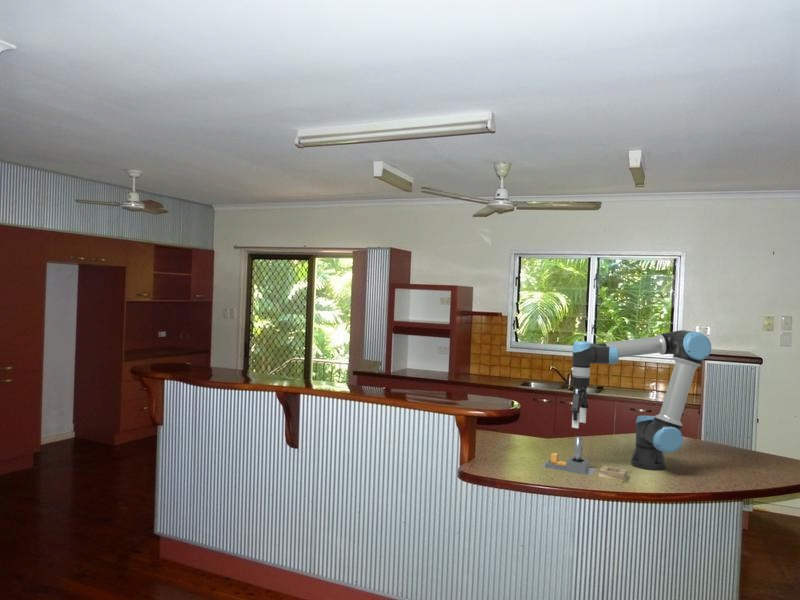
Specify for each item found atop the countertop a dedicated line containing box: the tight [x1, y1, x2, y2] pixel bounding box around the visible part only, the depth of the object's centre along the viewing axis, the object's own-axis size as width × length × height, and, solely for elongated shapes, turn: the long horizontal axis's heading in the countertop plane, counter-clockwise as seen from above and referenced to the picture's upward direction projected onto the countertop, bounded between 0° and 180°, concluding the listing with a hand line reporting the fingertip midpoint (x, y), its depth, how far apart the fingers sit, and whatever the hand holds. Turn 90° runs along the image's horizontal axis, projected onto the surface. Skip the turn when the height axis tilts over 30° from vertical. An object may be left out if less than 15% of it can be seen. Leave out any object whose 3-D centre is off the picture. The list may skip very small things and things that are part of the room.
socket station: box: [539, 456, 597, 476], centre depth 271 cm, size 12×22×5 cm, turn 61°
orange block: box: [550, 452, 566, 466], centre depth 273 cm, size 3×8×5 cm, turn 61°
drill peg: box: [573, 436, 583, 462], centre depth 269 cm, size 3×3×14 cm
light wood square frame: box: [598, 465, 629, 484], centre depth 262 cm, size 10×10×4 cm
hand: (579, 425), depth 269 cm, fingers open, 13 cm apart
